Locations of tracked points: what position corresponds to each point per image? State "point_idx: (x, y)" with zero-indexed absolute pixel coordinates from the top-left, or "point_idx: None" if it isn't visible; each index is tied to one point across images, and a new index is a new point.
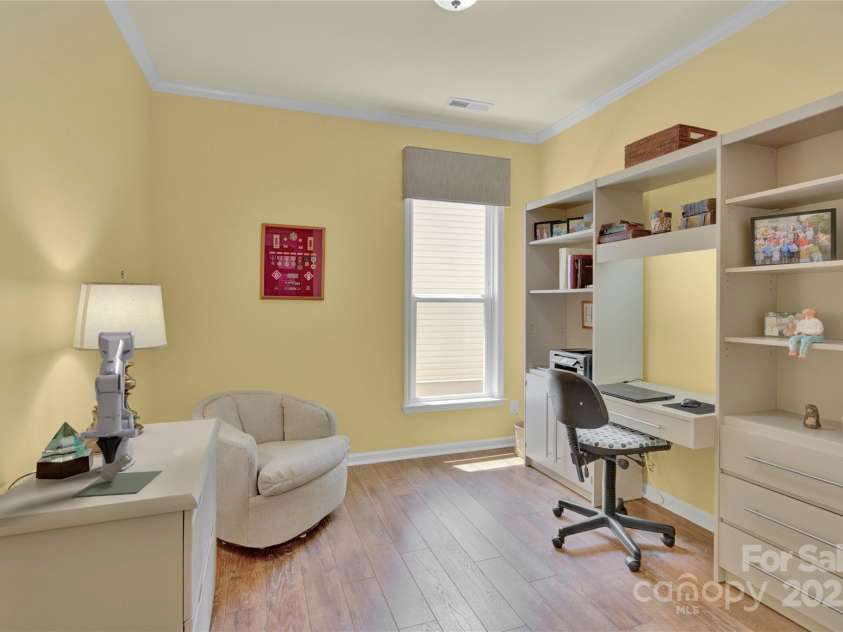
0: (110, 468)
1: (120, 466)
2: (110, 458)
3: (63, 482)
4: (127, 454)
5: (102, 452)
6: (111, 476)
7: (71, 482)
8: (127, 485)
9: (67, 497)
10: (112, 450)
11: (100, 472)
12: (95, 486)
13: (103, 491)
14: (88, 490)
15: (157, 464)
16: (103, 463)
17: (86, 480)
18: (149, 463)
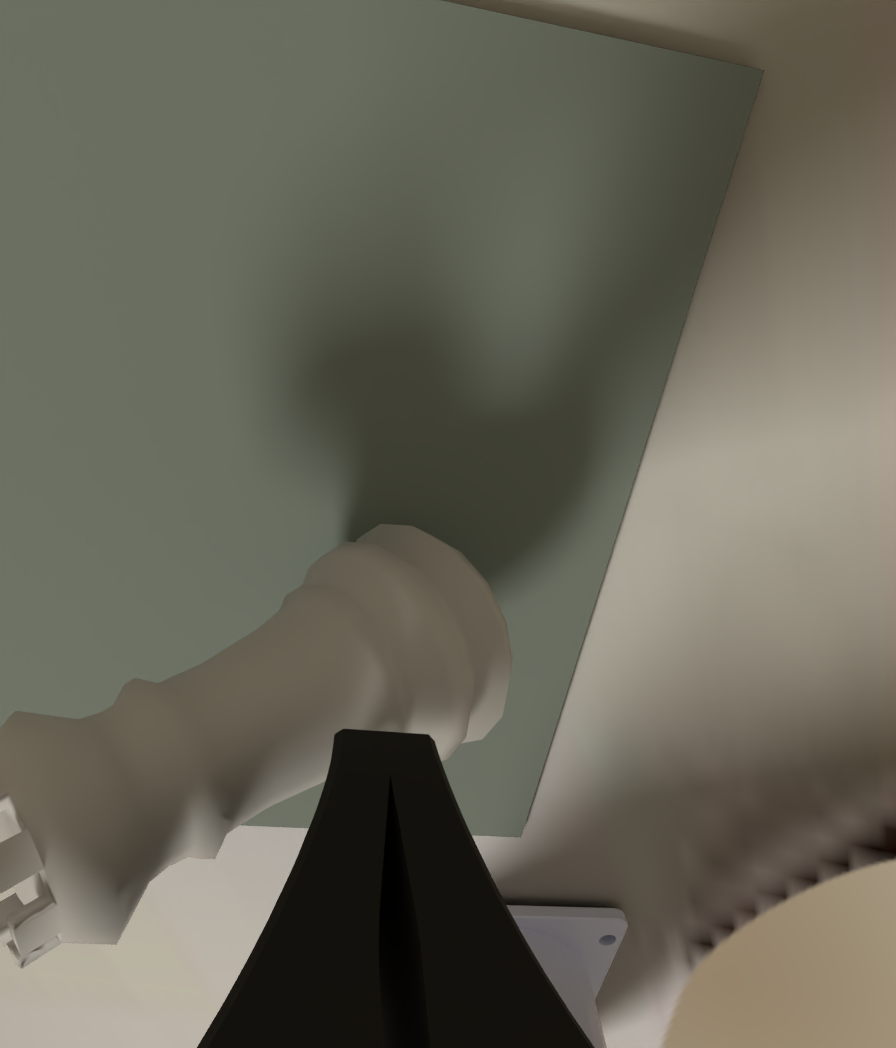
0: (348, 663)
1: (173, 679)
2: (325, 801)
3: (887, 720)
4: (15, 943)
5: (523, 953)
6: (329, 558)
7: (813, 701)
8: (43, 341)
9: (820, 107)
10: (232, 996)
11: (510, 655)
12: (519, 449)
13: (327, 146)
14: (575, 297)
15: (79, 992)
16: (583, 1006)
17: (674, 722)
18: (183, 1023)
